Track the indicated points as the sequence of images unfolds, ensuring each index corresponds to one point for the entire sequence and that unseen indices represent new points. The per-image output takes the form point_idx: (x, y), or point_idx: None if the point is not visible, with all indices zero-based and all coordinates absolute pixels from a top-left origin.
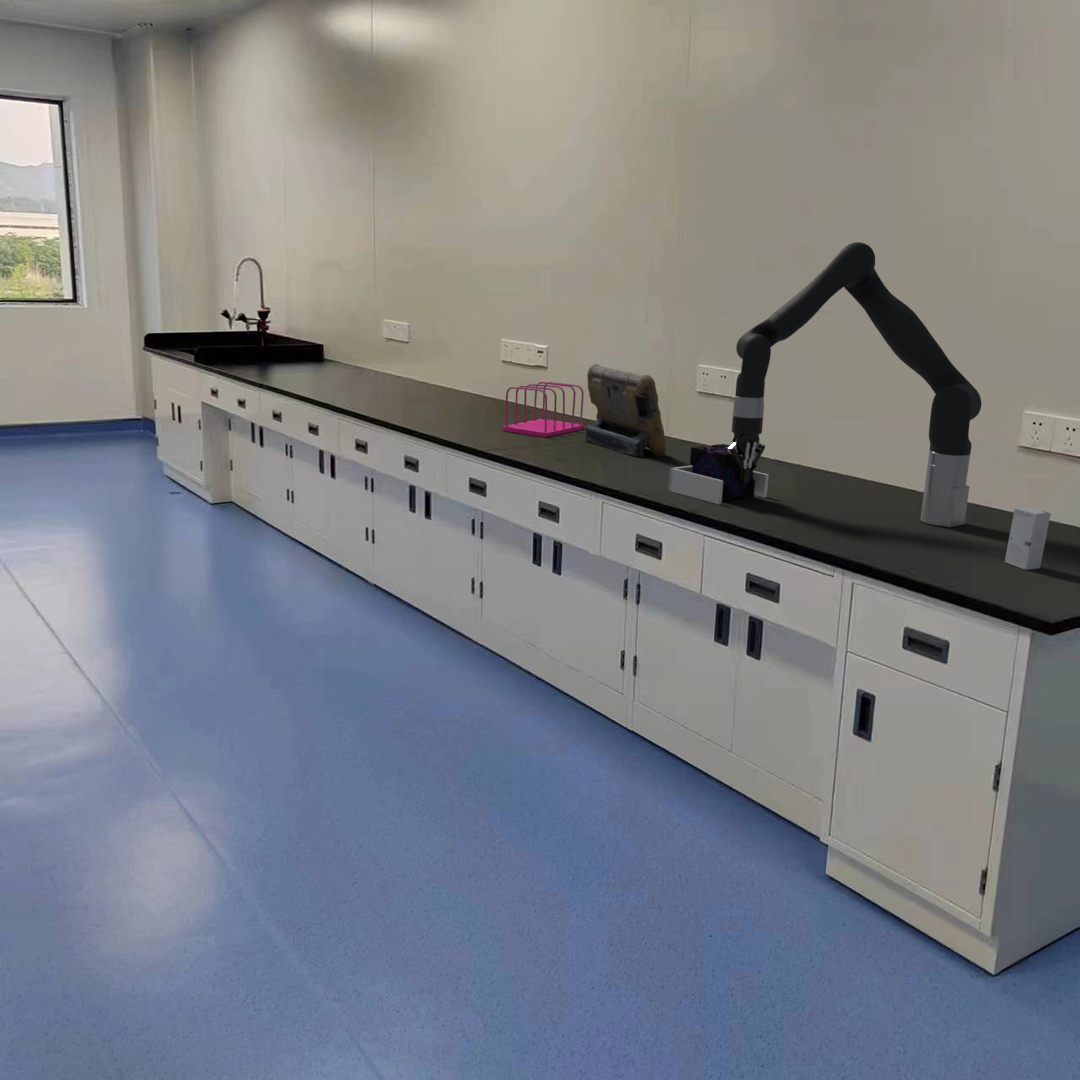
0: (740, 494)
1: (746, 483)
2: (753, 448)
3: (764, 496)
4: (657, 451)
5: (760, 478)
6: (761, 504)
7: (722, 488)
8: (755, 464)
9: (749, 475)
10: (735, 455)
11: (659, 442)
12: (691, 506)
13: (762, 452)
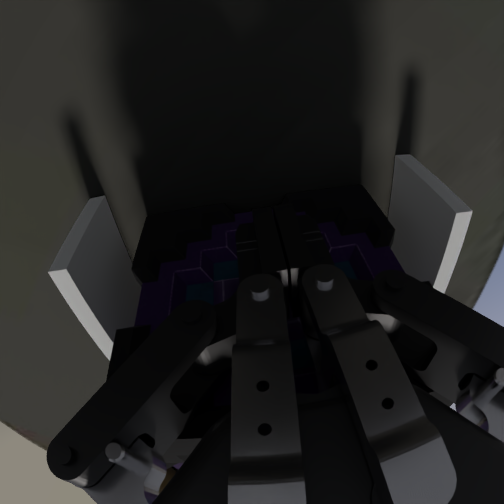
0: (233, 218)
1: (191, 259)
2: (274, 460)
3: (100, 198)
4: (168, 472)
5: (91, 278)
6: (212, 73)
7: (434, 188)
8: (181, 305)
9: (168, 294)
10: (500, 337)
11: (166, 484)
12: (491, 177)
13: (83, 407)
